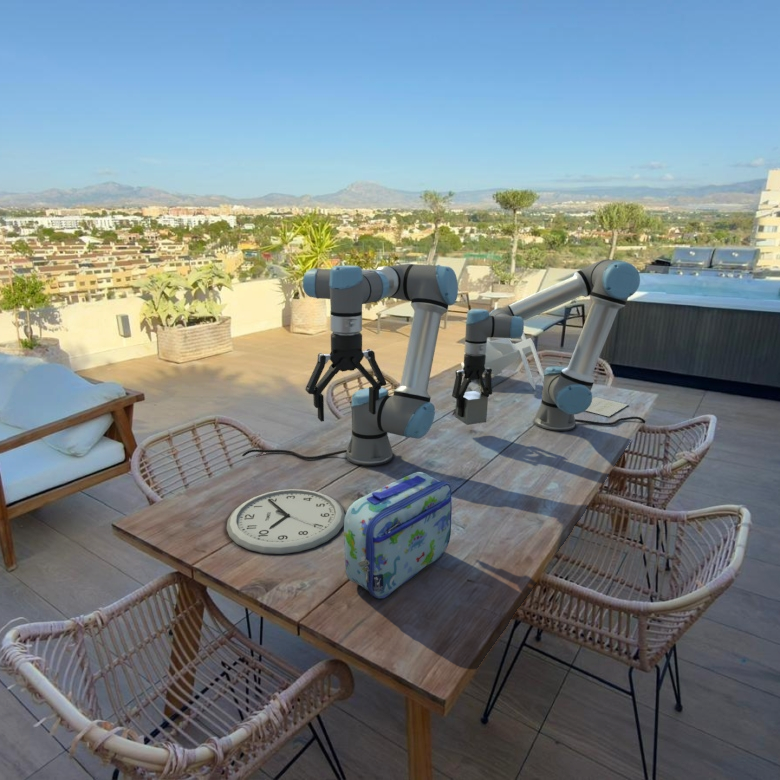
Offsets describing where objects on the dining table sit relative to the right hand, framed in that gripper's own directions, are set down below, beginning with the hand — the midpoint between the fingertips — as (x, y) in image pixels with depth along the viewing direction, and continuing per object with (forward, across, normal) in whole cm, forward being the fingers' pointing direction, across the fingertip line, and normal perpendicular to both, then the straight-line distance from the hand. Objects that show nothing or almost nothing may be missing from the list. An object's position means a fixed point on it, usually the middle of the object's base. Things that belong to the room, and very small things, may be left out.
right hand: (470, 414), depth 191 cm
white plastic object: (+8, +49, +52) cm, 72 cm away
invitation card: (+8, +71, +8) cm, 72 cm away
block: (+2, 0, 0) cm, 2 cm away
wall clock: (+8, -75, -34) cm, 83 cm away
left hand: (-19, -59, -36) cm, 72 cm away
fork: (+8, +9, +26) cm, 28 cm away
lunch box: (+8, -56, -64) cm, 85 cm away
